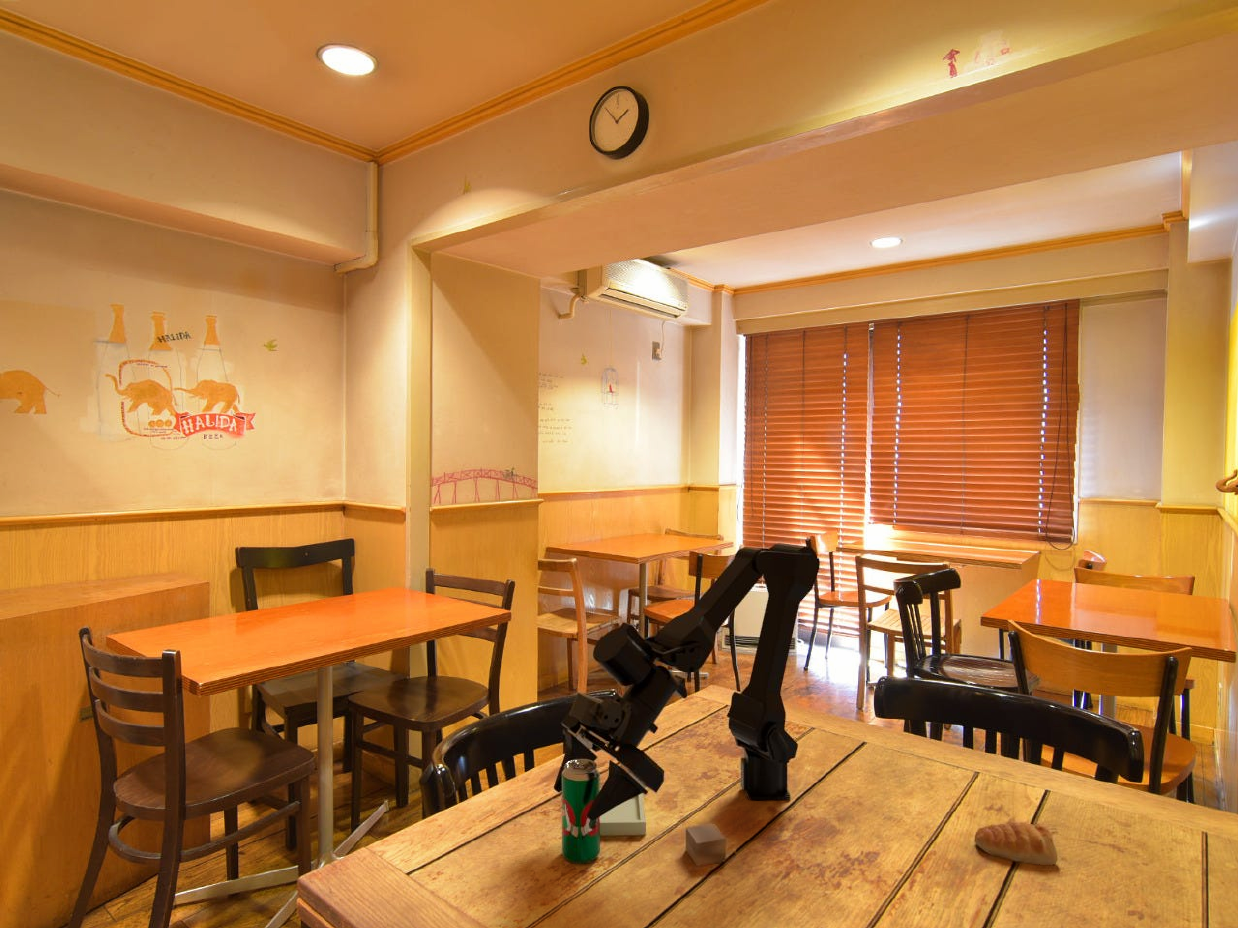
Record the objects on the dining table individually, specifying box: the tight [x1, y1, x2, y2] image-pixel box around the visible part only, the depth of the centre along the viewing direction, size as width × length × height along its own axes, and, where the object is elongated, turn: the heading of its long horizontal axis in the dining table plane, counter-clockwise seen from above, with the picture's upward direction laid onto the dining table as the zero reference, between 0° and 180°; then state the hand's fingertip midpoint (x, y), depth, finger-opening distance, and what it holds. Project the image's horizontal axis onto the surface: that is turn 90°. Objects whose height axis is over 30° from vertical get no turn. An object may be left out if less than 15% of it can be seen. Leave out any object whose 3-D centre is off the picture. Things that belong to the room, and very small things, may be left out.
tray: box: [600, 787, 647, 837], centre depth 105 cm, size 10×10×2 cm
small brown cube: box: [685, 823, 727, 867], centre depth 94 cm, size 4×4×3 cm
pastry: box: [974, 820, 1059, 866], centre depth 95 cm, size 9×7×4 cm
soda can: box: [561, 759, 601, 865], centre depth 94 cm, size 5×5×12 cm
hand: (571, 803), depth 94 cm, fingers open, 9 cm apart
